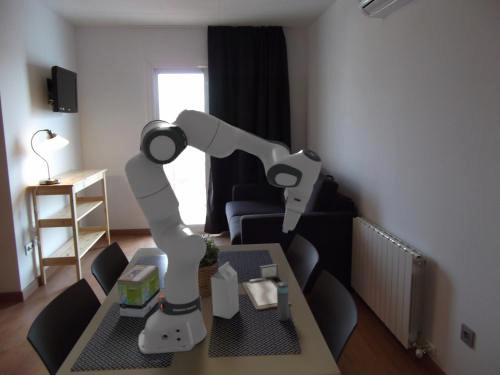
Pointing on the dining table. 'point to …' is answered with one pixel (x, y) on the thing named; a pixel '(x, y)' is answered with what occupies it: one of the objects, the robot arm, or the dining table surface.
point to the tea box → (138, 290)
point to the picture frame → (269, 271)
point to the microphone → (282, 301)
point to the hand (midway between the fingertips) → (286, 223)
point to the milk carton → (225, 292)
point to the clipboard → (262, 293)
